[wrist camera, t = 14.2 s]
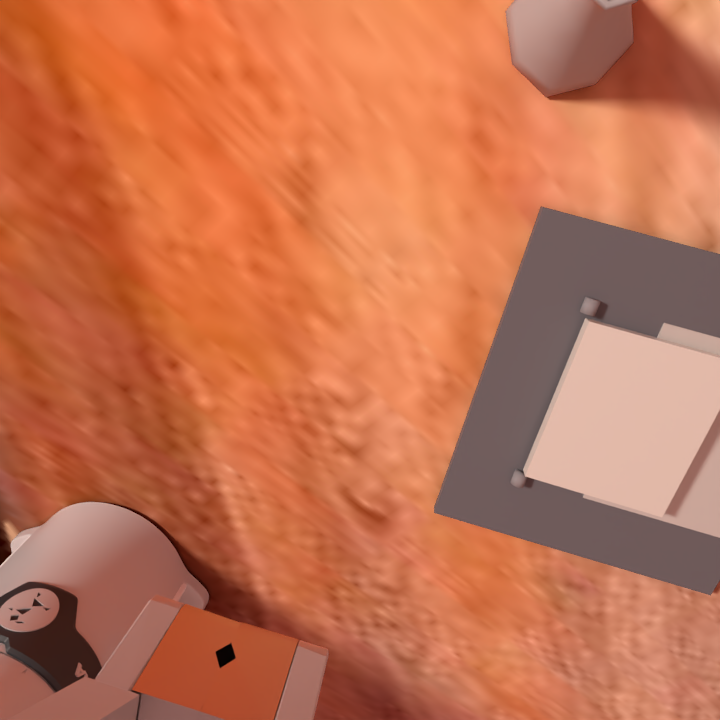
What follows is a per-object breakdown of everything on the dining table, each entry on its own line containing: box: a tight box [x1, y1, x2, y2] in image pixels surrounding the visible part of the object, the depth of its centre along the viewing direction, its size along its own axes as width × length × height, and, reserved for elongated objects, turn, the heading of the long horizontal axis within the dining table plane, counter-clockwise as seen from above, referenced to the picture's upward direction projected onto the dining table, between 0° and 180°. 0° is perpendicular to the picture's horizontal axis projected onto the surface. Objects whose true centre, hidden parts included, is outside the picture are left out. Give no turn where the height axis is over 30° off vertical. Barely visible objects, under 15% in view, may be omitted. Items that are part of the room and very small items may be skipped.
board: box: [434, 207, 720, 595], centre depth 38 cm, size 24×22×2 cm
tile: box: [523, 318, 720, 517], centre depth 37 cm, size 12×1×10 cm
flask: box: [505, 0, 638, 97], centre depth 27 cm, size 7×7×10 cm
